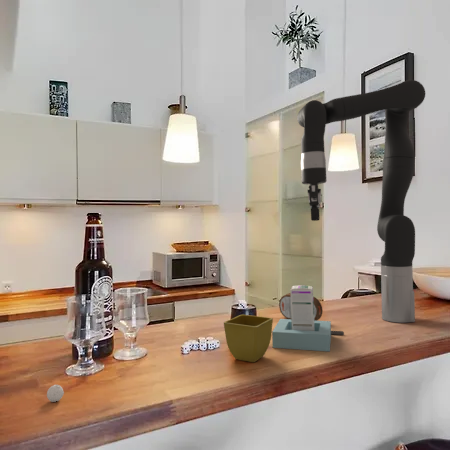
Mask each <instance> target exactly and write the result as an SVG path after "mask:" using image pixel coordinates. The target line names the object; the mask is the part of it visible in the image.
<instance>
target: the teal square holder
mask: <svg viewBox="0 0 450 450" xmlns="http://www.w3.org/2000/svg"><path fill="white" fill-rule="evenodd" d="M331 324H332V323H331V320H330V321H329V320H317V321H314V327H315V331H301V330H292V322H291V319H287V318H280V319H279V321H277V323H276V325H275V326H274V328H273V329H272V333H271V340H272V343H271V344H272V348H273V349H275V348H276V349H285V350H286V349H288V350H301V351H317V352H331V344H332V343H331V341H332V340H331V339H332V334H331V331H332V325H331Z"/></svg>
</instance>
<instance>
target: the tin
mask: <svg viewBox="0 0 450 450" xmlns="http://www.w3.org/2000/svg"><path fill="white" fill-rule="evenodd" d="M278 301H279V302H278V305H279V306H278V307H279V311H280V313H281V315H282V316H283V317H284V318H285V319H291V292H288V293H286V294H284V295H283V296H281V297H280V299H279V300H278ZM313 301H314V321H320V319H321V318H322V315H323V312H324V311H323V306H322V303H321V302H320V300H319V299H318V298H316V297H315V296H313Z"/></svg>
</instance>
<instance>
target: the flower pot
mask: <svg viewBox="0 0 450 450" xmlns="http://www.w3.org/2000/svg"><path fill="white" fill-rule="evenodd" d="M273 322H274V318H272V317H268V316H260V315H258V316H257V315H251V314H250V315H249V314H240V315H237V316H235V317H233V318H231V319H227V320H226V321H224V322H223V326H224V327H223V328H224V334H225V341H226V346H227V347H228V350H229V352H230V354H231V355H232V357H233V358H234V359H235V360H238V361H244V362H250V363H255V362H257V361H258V360H260V359H261V358H262V357H264V355H265V354H266V352H267V350H268V349H269V346H270V343H271V340H272V331H273Z"/></svg>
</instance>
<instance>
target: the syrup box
mask: <svg viewBox="0 0 450 450" xmlns="http://www.w3.org/2000/svg"><path fill="white" fill-rule="evenodd" d="M289 293H291V322H292V330H301V331H315V327H314V301H313V297H314V287H313V286H312V285H307V284H306V285H304V284H303V285H298V284H297V285H292V286H291V288H290V292H289Z"/></svg>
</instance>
